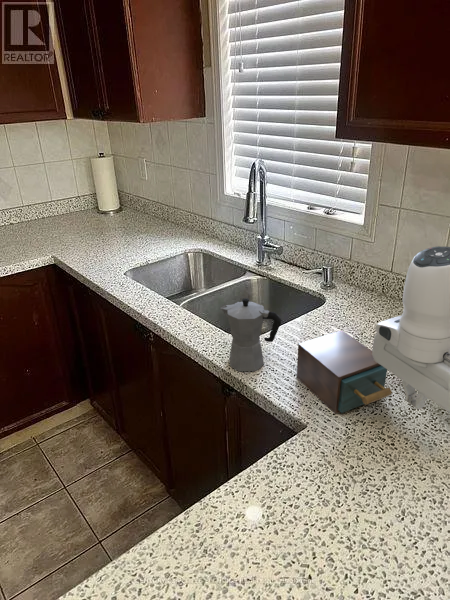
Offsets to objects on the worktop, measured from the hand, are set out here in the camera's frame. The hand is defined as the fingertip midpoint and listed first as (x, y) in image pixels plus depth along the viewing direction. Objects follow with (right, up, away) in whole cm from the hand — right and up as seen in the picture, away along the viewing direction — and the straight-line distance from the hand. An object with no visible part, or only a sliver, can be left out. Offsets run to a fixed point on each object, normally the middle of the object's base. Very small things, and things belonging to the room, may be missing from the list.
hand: (414, 404), depth 83 cm
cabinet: (-9, -1, +21) cm, 23 cm away
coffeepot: (-29, +3, +31) cm, 42 cm away
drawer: (-7, -2, +17) cm, 19 cm away
